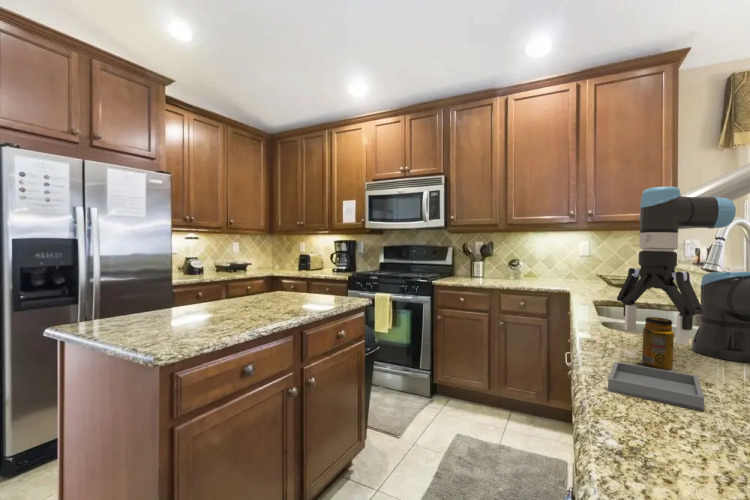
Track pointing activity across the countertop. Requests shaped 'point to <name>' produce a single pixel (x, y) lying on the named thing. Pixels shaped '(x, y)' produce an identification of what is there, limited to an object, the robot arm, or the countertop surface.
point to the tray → (657, 385)
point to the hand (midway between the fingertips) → (654, 336)
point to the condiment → (658, 344)
